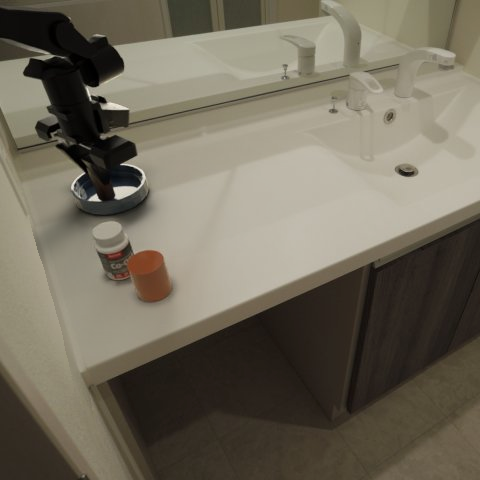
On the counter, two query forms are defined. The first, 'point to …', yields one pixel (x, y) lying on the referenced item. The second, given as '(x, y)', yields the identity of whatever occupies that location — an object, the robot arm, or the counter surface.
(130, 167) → the bowl
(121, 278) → the pill bottle
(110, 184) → the brown cylinder
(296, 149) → the counter surface
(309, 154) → the counter surface
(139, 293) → the orange cylinder cap
